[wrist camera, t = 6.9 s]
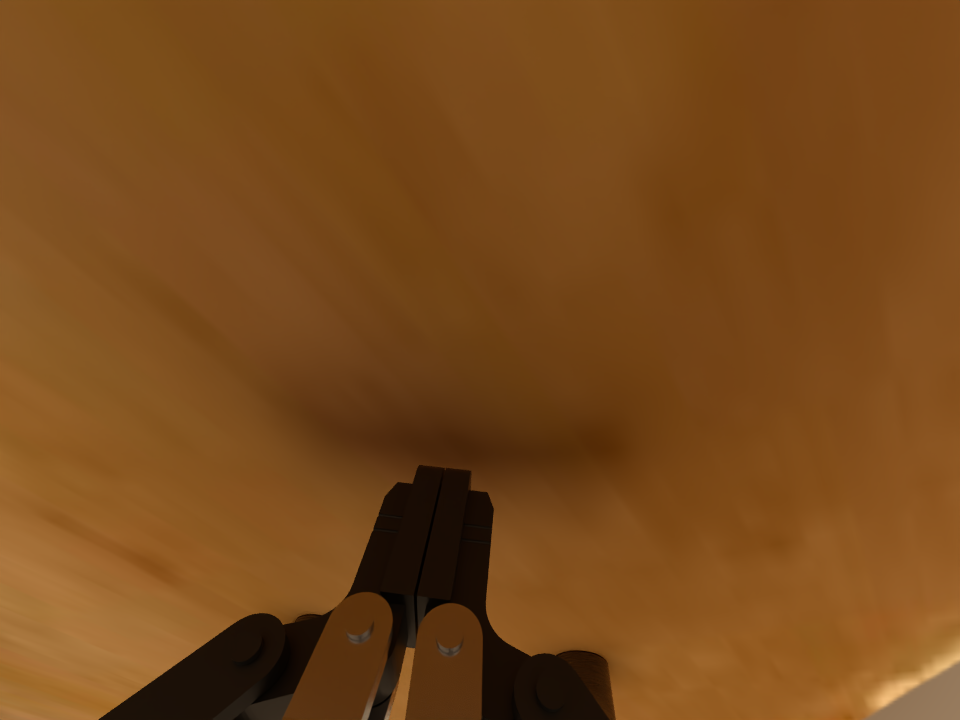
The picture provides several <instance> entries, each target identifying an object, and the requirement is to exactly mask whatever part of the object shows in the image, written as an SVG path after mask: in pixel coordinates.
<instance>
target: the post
mask: <svg viewBox="0 0 960 720" xmlns="http://www.w3.org/2000/svg"><path fill="white" fill-rule="evenodd" d="M558 657H560V658H562V659H563V660H565V661H566V662H567V663H569V664H570V665H571V666H572V667H573V669H574V670H575V671H576V672H577V674H578V675H579V677H580V678H581V680H582V681H583V682H584V684H585V685H586V687H587V688H588V690H589V691H590V692H591V694H592V695H593V697H594V698H595V700H596V701H597V703H598V704H599V705H600V707H601V708H602V710H603V711H604V713H605V714H606V715H607V717H608V718H609V720H616V718H615V711H614V704H613V697H612V690H611V683H610V676H609V669H608V663H607V662H606V660H604V659H603V658H602V657H600V656H598V655H595V654H592V653H588V652H579V651H575V652H566V653H562V654H560V655H558Z"/></svg>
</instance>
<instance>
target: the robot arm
mask: <svg viewBox="0 0 960 720" xmlns="http://www.w3.org/2000/svg"><path fill="white" fill-rule="evenodd" d="M493 511H494V508H493V506H492V503H491V500H490V498H489V495H488V492H480V491H471V471H469V470H460V469H451V468H446V470H445V468H441V467H432V466H423V465H419V466H418V468H417V471H416V475H415V478H414V481H413V484H409V483H401V482H398V483H397V484H396V485H395V486H394V487H393V488H392V489H391V490H390V491H389V493H388V494H387V495H386V496H385V498H384V501H383V503H382V506H381V509H380V512H379V516H378V517H377V520H376V523H375V525H374V529H373V531H372V533H371V536H370V539H369V542H368V544H367V547H366V550H365V553H364V555H363V558H362V561H361V564H360V566H359V569H358V572H357V574H356V577H355V580H354V583H353V585H352V587H351V590H350V591H349V593H348V595H347V596H346V597H345V599H344V600H343V601H342V602H340V603H339V604H338V606H337V607H335V608H334V609H333V610H331V611H330V612H328V613H326V614H324V615H322V616H319V617H316V618H312V619H308V620H303V621H299V622H294V623H290V624H285V625H282V623H281V621H280V620H279V619H278V618H276V617H275V616H273V615H271V614H266V613H259V614H253V615H250V616H247V617H245V618H243V619H240V620H239V621H237V622H236V623H234V624H233V625H231V626H230V627H228V628H227V629H226V630H224V631H223V632H221V633H220V634H219V635H217V636H216V637H214V638H213V639H212V640H210V641H209V642H207V643H206V644H204V645H203V646H202V647H200V648H199V649H197V650H196V651H195V652H193V653H192V654H190V655H189V656H188V657H186V658H185V659H183V660H182V661H180V662H179V663H178V664H176V665H175V666H173V667H172V668H171V669H169V670H168V671H166V672H165V673H164V674H162V675H161V676H159V677H158V678H156V679H155V680H154V681H152V682H151V683H149V684H148V685H147V686H145V687H144V688H142V689H141V690H139V691H138V692H137V693H135V694H134V695H132V696H131V697H130V698H128V699H127V700H125V701H124V702H123V703H121V704H120V705H118V706H117V707H115V708H114V709H113V710H111V711H110V712H108V713H107V714H106V715H104V716H103V717H101V718H100V719H99V720H388V719H389V716H390V713H391V709H392V706H393V702H394V699H395V695H396V692H397V688H398V684H399V677H400V673H401V668H402V664H403V659H404V655H405V650H406V647H410V648H415V653H414V660H413V667H412V674H411V681H410V689H409V696H408V703H407V710H406V717H405V720H609V718H608V717H607V715H606V714H605V713H604V711H603V710H602V708H601V707H600V705H599V704H598V703H597V701H596V700H595V698H594V697H593V695H592V694H591V692H590V691H589V690H588V688H587V687H586V685H585V684H584V682H583V681H582V680H581V678H580V677H579V675H578V674H577V672H576V671H575V670H574V669H573V667H572V666H571V665H570V664H569V663H567V662H566V661H565V660H563V659H562V658H560V657H558V656H556V655H552V654H545V653H544V654H537V655H534V656H532V657H531V656H529V655H527V654H525V653H524V652H522V651H520V650H518V649H516V648H515V647H513V646H511V645H509V644H508V643H506V642H505V641H503V640H502V639H501V638H500V637H499V636H498V635H497V634H496V633H495V631H494V630H493V628H492V627H491V625H490V623H489V620H488V617H487V614H486V592H487V581H488V569H489V558H490V546H491V534H492V523H493Z"/></svg>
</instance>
